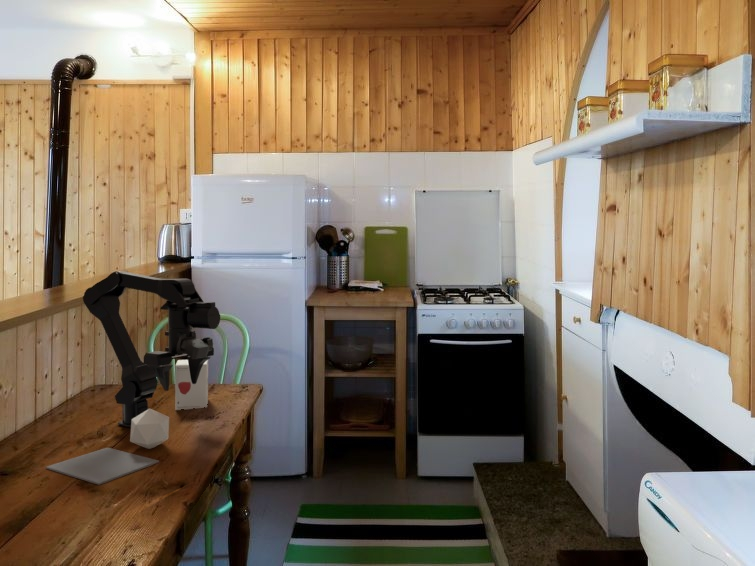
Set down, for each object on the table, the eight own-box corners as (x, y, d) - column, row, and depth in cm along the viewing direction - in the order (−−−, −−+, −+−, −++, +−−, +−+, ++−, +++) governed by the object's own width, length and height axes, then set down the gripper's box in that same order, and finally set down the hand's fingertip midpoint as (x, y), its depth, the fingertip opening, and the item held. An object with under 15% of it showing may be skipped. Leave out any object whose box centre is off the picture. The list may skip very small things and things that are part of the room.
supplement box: (174, 417, 170) (173, 365, 170) (177, 409, 179) (176, 359, 178) (207, 415, 173) (207, 363, 172) (208, 407, 181) (208, 358, 181)
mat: (46, 468, 129) (45, 466, 129) (107, 448, 142) (107, 447, 142) (99, 484, 121) (98, 483, 120) (159, 462, 134) (159, 460, 134)
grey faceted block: (177, 446, 145) (176, 405, 144) (150, 458, 137) (150, 414, 136) (149, 442, 148) (149, 402, 148) (122, 453, 140) (121, 411, 139)
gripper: (173, 333, 142) (173, 398, 143) (228, 325, 158) (229, 384, 159) (141, 330, 148) (142, 393, 148) (198, 323, 164) (199, 379, 165)
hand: (180, 387), depth 155 cm, fingers open, 9 cm apart
